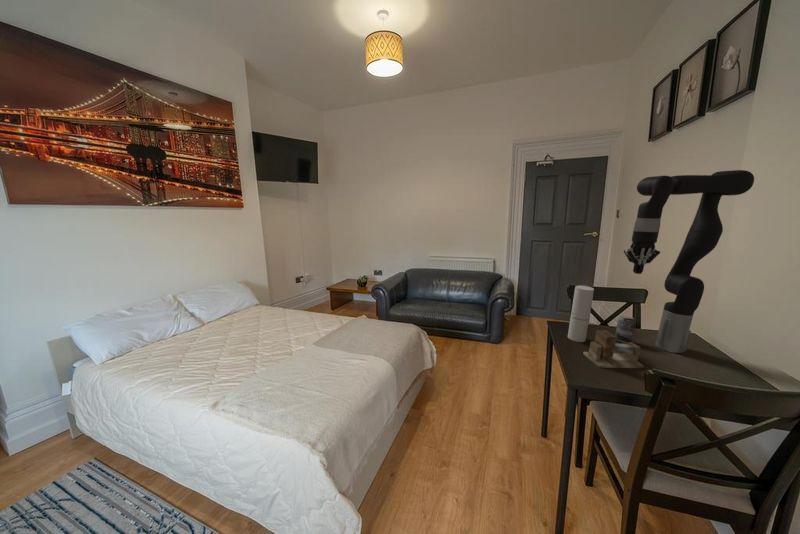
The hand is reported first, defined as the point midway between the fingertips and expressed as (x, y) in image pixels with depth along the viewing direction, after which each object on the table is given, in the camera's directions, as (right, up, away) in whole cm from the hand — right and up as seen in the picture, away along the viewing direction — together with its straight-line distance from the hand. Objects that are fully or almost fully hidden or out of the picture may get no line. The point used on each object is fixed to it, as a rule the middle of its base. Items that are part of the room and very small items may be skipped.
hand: (637, 273), depth 112 cm
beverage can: (+8, -32, +18) cm, 37 cm away
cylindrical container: (-12, -31, +20) cm, 39 cm away
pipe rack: (-9, -35, +1) cm, 37 cm away
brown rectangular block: (-14, -33, +1) cm, 36 cm away
